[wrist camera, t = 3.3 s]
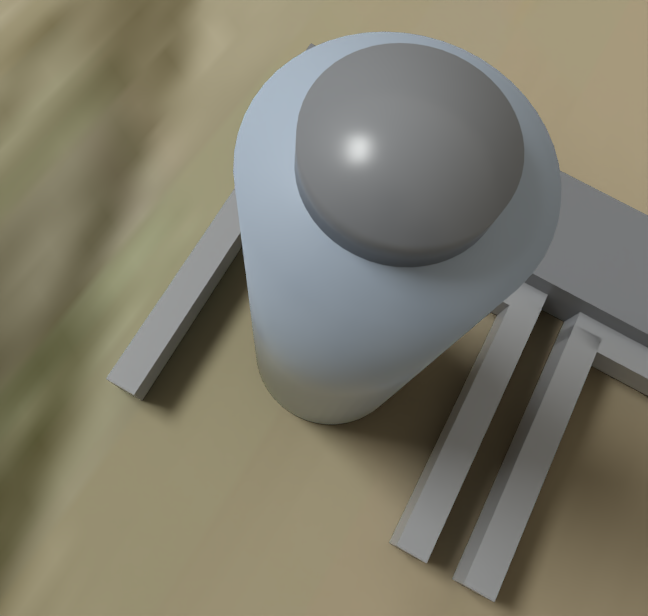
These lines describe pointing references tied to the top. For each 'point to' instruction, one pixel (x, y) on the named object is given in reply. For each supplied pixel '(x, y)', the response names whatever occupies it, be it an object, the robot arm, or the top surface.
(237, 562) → the top surface
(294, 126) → the pale blue cylinder
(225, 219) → the parallel gray bars
